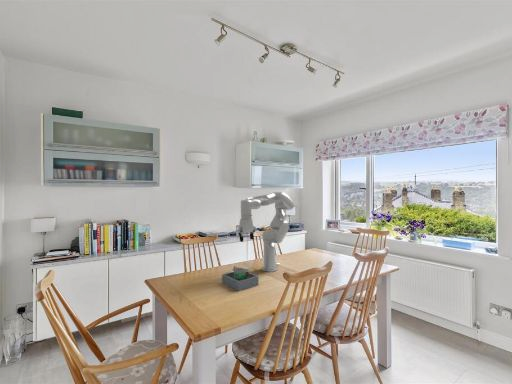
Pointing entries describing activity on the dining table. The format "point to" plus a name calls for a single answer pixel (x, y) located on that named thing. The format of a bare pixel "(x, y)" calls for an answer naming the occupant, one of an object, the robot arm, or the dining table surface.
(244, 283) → the crate
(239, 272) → the food container
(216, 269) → the dining table surface
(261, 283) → the dining table surface
